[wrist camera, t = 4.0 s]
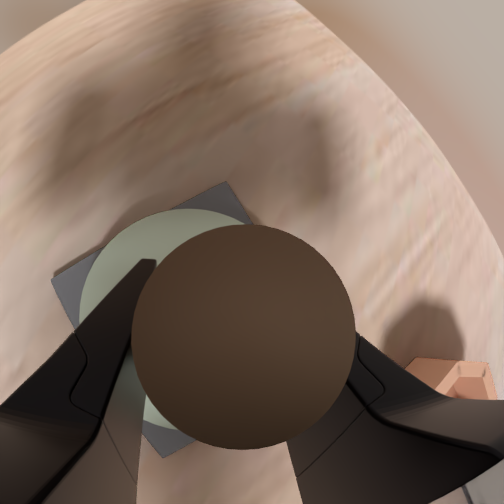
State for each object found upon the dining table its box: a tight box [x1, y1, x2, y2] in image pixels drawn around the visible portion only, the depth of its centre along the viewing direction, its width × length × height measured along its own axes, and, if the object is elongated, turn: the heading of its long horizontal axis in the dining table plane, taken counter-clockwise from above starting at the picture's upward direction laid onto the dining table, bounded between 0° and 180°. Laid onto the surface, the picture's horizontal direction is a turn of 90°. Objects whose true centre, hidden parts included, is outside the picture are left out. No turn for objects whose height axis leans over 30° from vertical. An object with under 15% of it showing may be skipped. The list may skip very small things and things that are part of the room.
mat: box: [51, 181, 253, 458], centre depth 16 cm, size 11×11×1 cm
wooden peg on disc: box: [79, 209, 356, 450], centre depth 10 cm, size 11×11×12 cm
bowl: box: [405, 357, 497, 400], centre depth 16 cm, size 9×9×4 cm
